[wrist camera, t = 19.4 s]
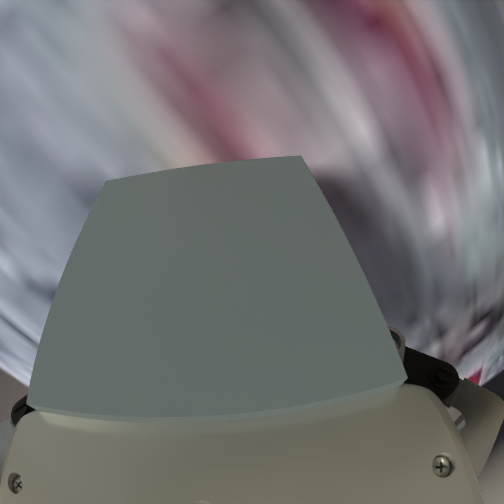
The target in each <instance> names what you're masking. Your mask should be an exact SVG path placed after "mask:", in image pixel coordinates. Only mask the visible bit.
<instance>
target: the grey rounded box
mask: <svg viewBox="0 0 504 504" xmlns="http://www.w3.org/2000/svg"><path fill="white" fill-rule="evenodd" d="M407 378H408V377H407V374H406V372H405V369H404V366H403V364H402V361H401V358H400V356H399V353H398V351H397V348H396V346H395V343H394V341H393V338H392V336H391V333H390V331H389V328H388V326H387V324H386V321H385V319H384V317H383V314H382V312H381V310H380V307H379V305H378V303H377V300H376V298H375V296H374V294H373V292H372V289H371V287H370V285H369V283H368V281H367V279H366V276H365V274H364V272H363V270H362V268H361V266H360V264H359V262H358V260H357V258H356V256H355V254H354V252H353V250H352V248H351V246H350V244H349V242H348V240H347V238H346V236H345V234H344V232H343V230H342V228H341V226H340V224H339V222H338V220H337V218H336V216H335V215H334V213H333V211H332V209H331V207H330V205H329V204H328V202H327V200H326V198H325V196H324V194H323V193H322V191H321V189H320V187H319V186H318V184H317V182H316V180H315V179H314V177H313V175H312V173H311V172H310V170H309V168H308V166H307V165H306V163H305V161H304V160H303V158H302V156H287V157H273V158H261V159H250V160H240V161H231V162H222V163H213V164H206V165H198V166H191V167H184V168H177V169H171V170H164V171H158V172H152V173H147V174H141V175H136V176H130V177H125V178H120V179H115V180H110V181H106V183H105V185H104V186H103V188H102V190H101V192H100V194H99V196H98V198H97V200H96V201H95V203H94V205H93V207H92V209H91V211H90V213H89V215H88V217H87V219H86V222H85V224H84V226H83V228H82V230H81V232H80V234H79V237H78V239H77V241H76V243H75V245H74V248H73V250H72V252H71V255H70V257H69V260H68V262H67V264H66V267H65V269H64V272H63V274H62V277H61V280H60V282H59V285H58V288H57V290H56V293H55V296H54V299H53V302H52V305H51V308H50V311H49V314H48V317H47V320H46V323H45V326H44V330H43V333H42V337H41V340H40V344H39V347H38V351H37V355H36V359H35V363H34V367H33V372H32V376H31V381H30V386H29V391H28V396H27V402H26V404H27V405H29V406H31V407H32V408H34V409H35V410H37V411H39V412H46V413H51V414H58V415H64V416H71V417H79V418H87V419H97V420H108V421H122V422H144V423H189V422H211V421H226V420H237V419H247V418H256V417H264V416H272V415H279V414H285V413H292V412H297V411H303V410H309V409H314V408H319V407H324V406H329V405H333V404H338V403H342V402H346V401H350V400H354V399H358V398H362V397H366V396H370V395H373V394H377V393H380V392H384V391H387V390H391V389H394V388H398V387H400V386H401V385H402V384H403V383H404V381H405V380H406V379H407Z"/></svg>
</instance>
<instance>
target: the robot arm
mask: <svg viewBox="0 0 504 504" xmlns="http://www.w3.org/2000/svg"><path fill="white" fill-rule="evenodd" d="M388 328H389V331H390V333H391V336H392V338H393V341H394V343H395V346H396V348H397V351H398V353H399V356H400V358H401V361H402V364H403V366H404V369H405V372H406V374H407V377H408V378H407V379H406V380H405V381H404V383H403V384H402V385H401V386H400V387H398V388H394V389H391V390H387V391H384V392H380V393H377V394H373V395H370V396H366V397H362V398H358V399H354V400H350V401H346V402H342V403H338V404H333V405H329V406H324V407H319V408H314V409H309V410H303V411H297V412H292V413H285V414H279V415H272V416H264V417H256V418H247V419H237V420H226V421H211V422H189V423H144V422H122V421H108V420H97V419H87V418H79V417H71V416H64V415H58V414H51V413H46V412H39V411H37V410H35V409H34V408H32V407H31V406H29V405H27V404H26V402H27V396H28V394H27V395H26V396H25V397H23V398H22V399H21V400H19V401H18V402H17V403H16V404H15V406H14V407H13V409H12V412H11V420H10V419H8V418H7V419H6V420H5V421H4V422H3V423H2V424H1V425H0V504H484V502H483V498H482V494H481V490H480V487H479V484H478V481H477V479H478V477H479V475H480V473H481V471H482V469H483V467H484V465H485V463H486V461H487V458H488V456H489V454H490V452H491V449H492V447H493V444H494V442H495V439H496V437H497V434H498V432H499V429H500V426H501V424H502V421H503V418H504V402H503V401H502V399H501V398H500V397H498V396H497V395H495V394H493V393H491V392H490V391H488V390H486V389H484V388H482V387H481V386H479V385H477V384H475V383H473V382H472V381H470V380H468V379H466V378H464V380H461V379H460V378H459V376H458V373H457V371H456V369H455V368H454V367H453V366H452V365H450V364H449V363H447V362H444V361H442V360H439V359H436V358H434V357H431V356H429V355H426V354H424V353H421V352H419V351H416V350H414V349H411V348H408V347H406V346H405V339H404V336H403V335H402V334H401V333H400V332H399V331H398V330H396V329H395V328H392V327H389V326H388Z"/></svg>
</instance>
